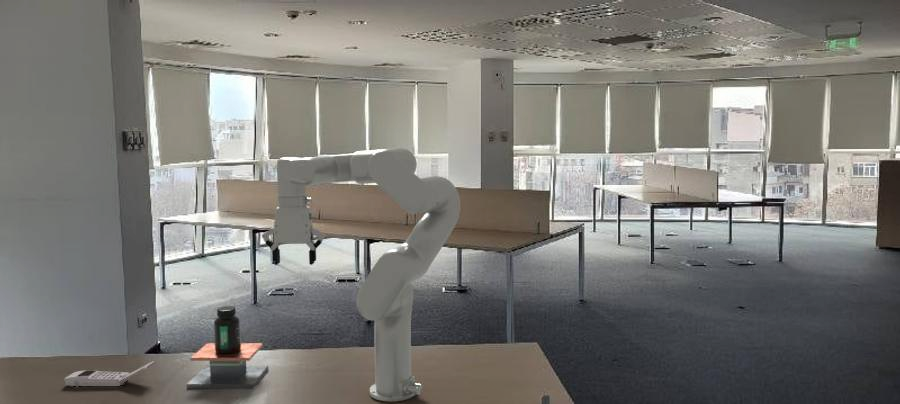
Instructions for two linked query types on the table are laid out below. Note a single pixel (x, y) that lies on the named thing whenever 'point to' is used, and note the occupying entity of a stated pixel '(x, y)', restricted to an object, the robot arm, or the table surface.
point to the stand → (227, 368)
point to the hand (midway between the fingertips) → (294, 263)
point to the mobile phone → (101, 377)
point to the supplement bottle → (227, 331)
